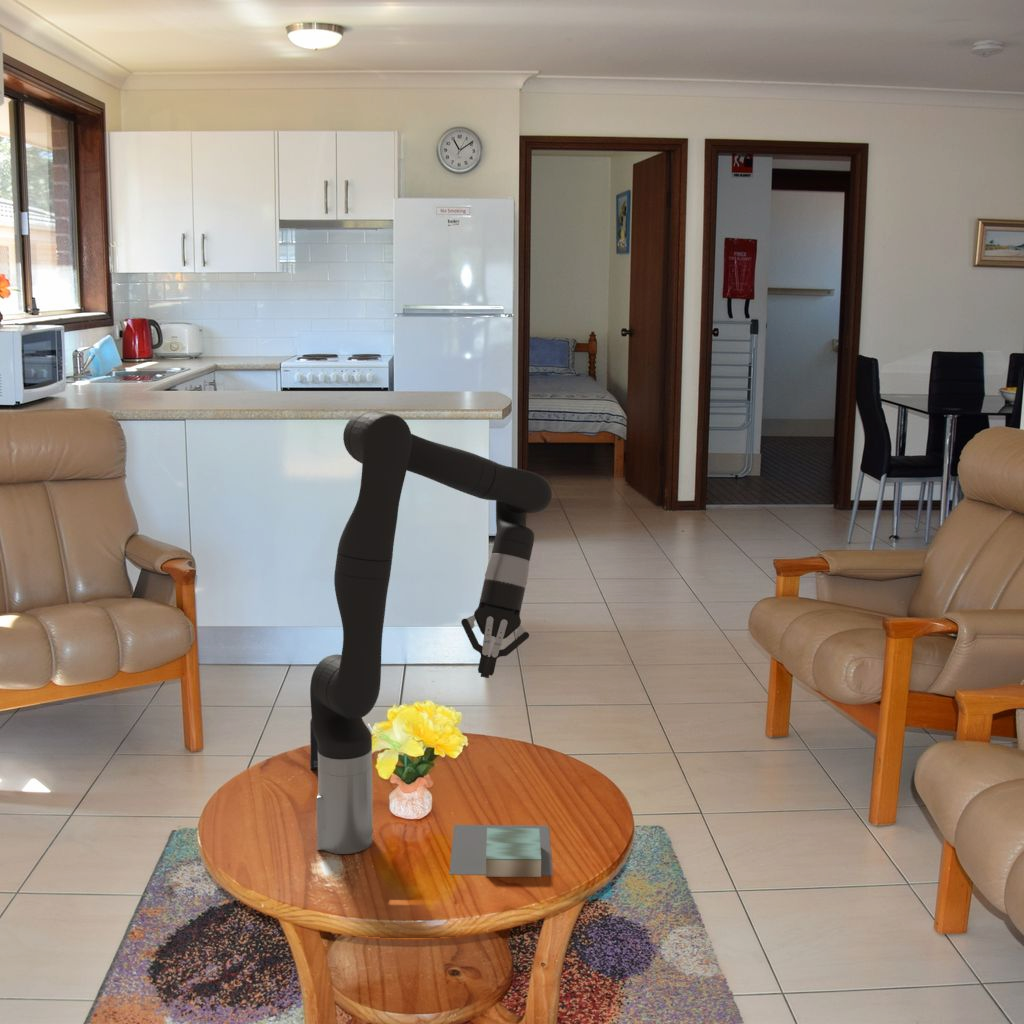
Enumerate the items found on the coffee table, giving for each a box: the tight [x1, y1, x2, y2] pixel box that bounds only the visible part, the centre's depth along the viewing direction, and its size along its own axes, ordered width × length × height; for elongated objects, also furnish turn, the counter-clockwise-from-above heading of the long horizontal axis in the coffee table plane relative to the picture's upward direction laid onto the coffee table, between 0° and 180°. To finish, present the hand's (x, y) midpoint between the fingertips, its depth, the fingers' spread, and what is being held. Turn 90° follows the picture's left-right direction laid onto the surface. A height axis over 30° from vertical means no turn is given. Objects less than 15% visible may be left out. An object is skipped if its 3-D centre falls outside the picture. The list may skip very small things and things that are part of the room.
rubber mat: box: [448, 824, 554, 877], centre depth 200 cm, size 17×18×1 cm
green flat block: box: [485, 828, 542, 878], centre depth 196 cm, size 9×3×11 cm
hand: (484, 677), depth 207 cm, fingers closed
